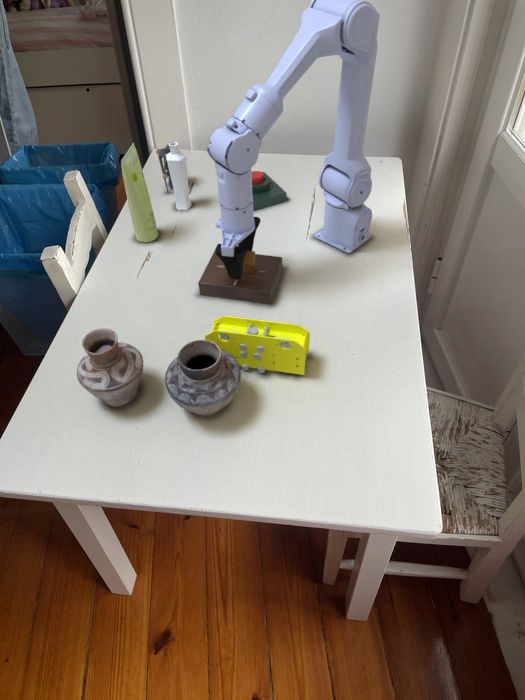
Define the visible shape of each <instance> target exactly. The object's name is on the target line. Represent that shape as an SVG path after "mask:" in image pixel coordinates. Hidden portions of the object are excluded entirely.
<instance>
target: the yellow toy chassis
mask: <svg viewBox="0 0 525 700" xmlns="http://www.w3.org/2000/svg"><path fill="white" fill-rule="evenodd" d="M310 335H311V332H310V331H309V330H307V329H306V328H304V327H303V326H301V325H300V324H295V323H287V322H278V321H271V320H263V319H256V318H255V319H254V318H246V317H239V316H229V315H222V316H220V317H218V318H215V319H213V325H212V328H211V331H210V332H208V333H207V334H205V335H204V338H205V339H204V340H209V341H212V342H214V343H216V344H217V345H218V346H219V348H220V349H221V350H224V351H226V352H228V353H230V354H231V355H232V356H233V357H234V358H235V359H236V360H237V362H238V363H239V366H240V369H241V371H245V372H247V371H249V368H251V369H257V372H258V373H260V374H264V373H265V371H266V370H267V371H273V372H281V373H284V374H293V375H302V376H304V375H305V374H306V373H305V370H306V361H307V355H309V352H310V338H311V337H310Z"/></svg>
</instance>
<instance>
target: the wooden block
mask: <svg viewBox="0 0 525 700" xmlns="http://www.w3.org/2000/svg"><path fill="white" fill-rule="evenodd" d="M255 254H256V251H253V250H252V251H247V254H246V256H245V258H244V262H243V272H246V273H254V272H255V270H256V257H255Z"/></svg>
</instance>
